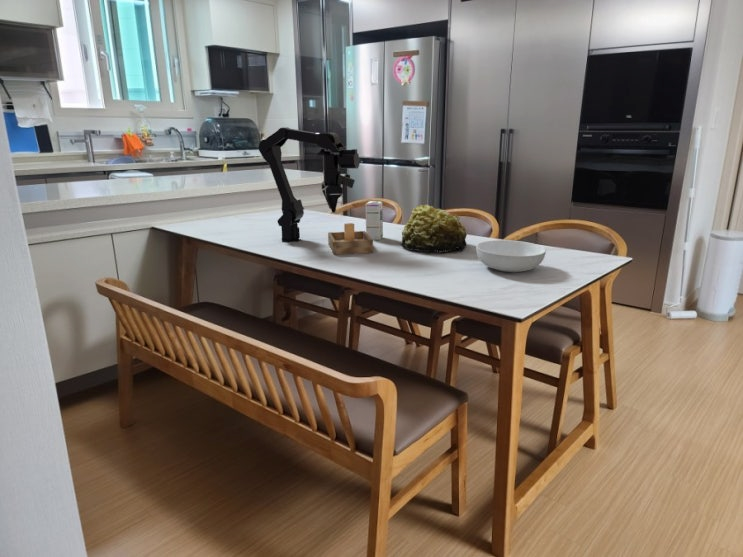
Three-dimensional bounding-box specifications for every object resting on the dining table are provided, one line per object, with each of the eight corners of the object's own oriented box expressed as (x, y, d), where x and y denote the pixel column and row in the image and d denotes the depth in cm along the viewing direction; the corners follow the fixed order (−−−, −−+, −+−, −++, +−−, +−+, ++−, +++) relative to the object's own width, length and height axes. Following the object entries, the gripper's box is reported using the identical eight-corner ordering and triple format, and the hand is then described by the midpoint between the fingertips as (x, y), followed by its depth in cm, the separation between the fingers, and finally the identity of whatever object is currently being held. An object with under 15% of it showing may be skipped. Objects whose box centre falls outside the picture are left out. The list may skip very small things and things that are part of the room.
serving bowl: (502, 281, 147) (504, 258, 145) (462, 264, 165) (463, 243, 163) (559, 273, 155) (561, 251, 153) (514, 257, 173) (516, 237, 171)
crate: (333, 254, 178) (333, 242, 177) (328, 244, 194) (328, 232, 193) (372, 252, 180) (372, 240, 179) (364, 242, 197) (364, 230, 195)
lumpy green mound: (389, 243, 196) (389, 201, 192) (445, 237, 205) (446, 198, 200) (419, 257, 174) (420, 211, 169) (480, 251, 182) (482, 207, 178)
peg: (345, 249, 185) (345, 225, 183) (344, 247, 189) (343, 223, 186) (355, 249, 186) (355, 224, 183) (353, 247, 189) (353, 222, 187)
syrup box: (380, 240, 200) (380, 203, 196) (365, 239, 201) (365, 202, 197) (383, 237, 206) (383, 201, 201) (368, 236, 207) (368, 200, 203)
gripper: (356, 169, 180) (357, 213, 185) (349, 165, 198) (350, 206, 202) (325, 170, 178) (326, 214, 183) (320, 166, 196) (321, 207, 201)
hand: (332, 210), depth 192 cm, fingers open, 9 cm apart
